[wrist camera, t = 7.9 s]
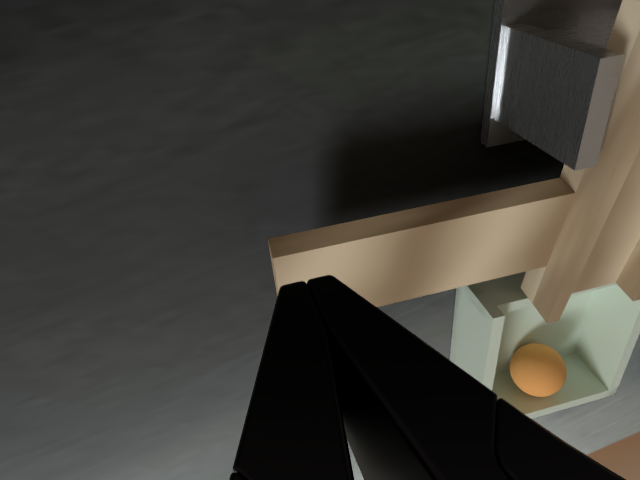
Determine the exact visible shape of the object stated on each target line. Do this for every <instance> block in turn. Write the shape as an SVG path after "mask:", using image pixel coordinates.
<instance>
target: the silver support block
mask: <svg viewBox="0 0 640 480" xmlns="http://www.w3.org/2000/svg"><path fill="white" fill-rule="evenodd" d="M621 3H622V0H495V5H494V14H493V24H492V34H491V43H490V53H489V62H488V72H487V81H486V91H485V100H484V110H483V119H482V129H481V139H480V142H481V143H482V144H483V145H485V146H486V147H492V146H497V145H502V144H507V143H512V142H517V141H522V140H527V141H529V142H531V143H532V144H534V145H535V146H537V147H538V148H540V149H541V150H543V151H545V152H546V153H548V154H549V155H551V156H552V157H554V158H555V159H557V160H559V161H560V162H562V163H563V164H565V165H566V166H568V167H570V168H571V169H573V170H574V171H576V170H581V169H586V168H590V167H595V166H596V165H597V161H598V157H599V153H600V149H601V145H602V141H603V137H604V134H605V130H606V126H607V122H608V118H609V114H610V110H611V106H612V102H613V98H614V94H615V91H616V87H617V83H618V79H619V75H620V71H621V67H622V63H623V59H624V55H625V54H622V53H619V52H615V51H612V50H609V49H606V46H607V43H608V40H609V37H610V34H611V31H612V29H613V26H614V23H615V20H616V17H617V15H618V12H619V9H620V6H621Z"/></svg>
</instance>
